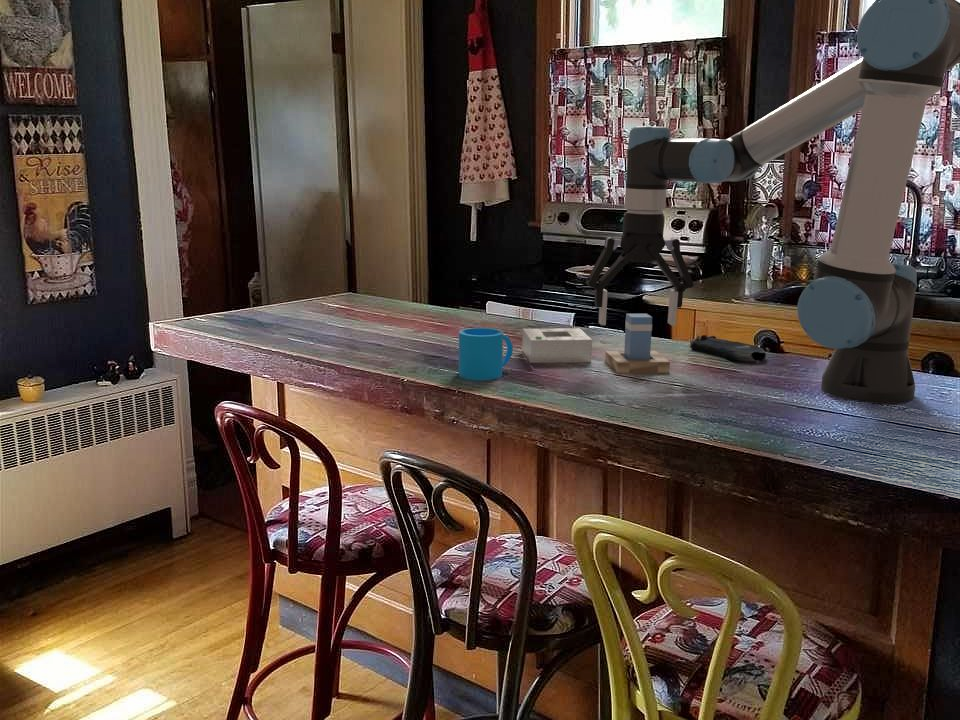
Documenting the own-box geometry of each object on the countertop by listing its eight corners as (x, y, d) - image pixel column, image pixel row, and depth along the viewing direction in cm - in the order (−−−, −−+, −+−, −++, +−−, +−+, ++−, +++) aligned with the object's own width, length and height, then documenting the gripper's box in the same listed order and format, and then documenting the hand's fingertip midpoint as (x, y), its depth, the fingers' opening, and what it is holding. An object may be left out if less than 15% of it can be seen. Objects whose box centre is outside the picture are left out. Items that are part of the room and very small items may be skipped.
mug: (478, 382, 165) (479, 338, 163) (449, 374, 171) (449, 331, 169) (526, 372, 173) (527, 330, 171) (497, 365, 179) (497, 324, 177)
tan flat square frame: (669, 374, 172) (670, 361, 172) (617, 375, 171) (617, 362, 171) (654, 362, 182) (655, 350, 182) (604, 363, 181) (605, 351, 181)
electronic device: (686, 360, 192) (747, 364, 181) (687, 334, 192) (748, 335, 180) (714, 361, 198) (774, 364, 186) (715, 335, 198) (775, 336, 186)
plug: (649, 368, 175) (652, 317, 173) (628, 369, 174) (631, 317, 172) (643, 363, 179) (646, 313, 177) (623, 364, 178) (625, 313, 176)
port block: (591, 364, 180) (592, 337, 179) (530, 365, 179) (531, 338, 177) (578, 351, 191) (579, 326, 190) (522, 352, 190) (522, 326, 189)
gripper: (702, 211, 175) (694, 320, 180) (574, 209, 172) (569, 319, 177) (716, 214, 168) (706, 328, 173) (582, 212, 165) (576, 327, 170)
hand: (637, 324), depth 175 cm, fingers open, 13 cm apart
